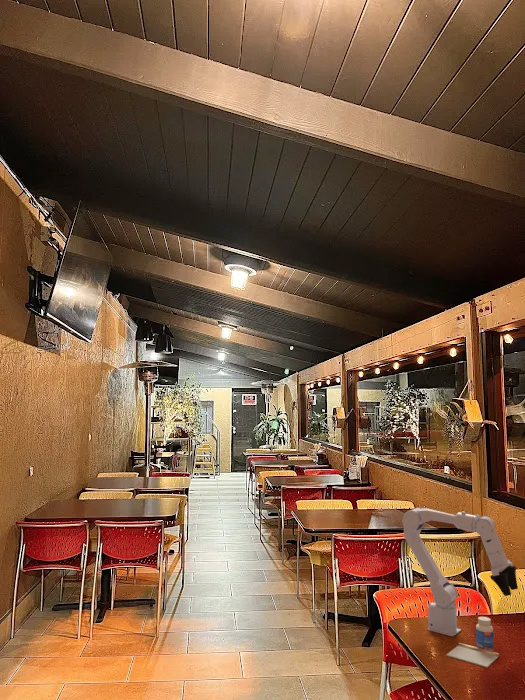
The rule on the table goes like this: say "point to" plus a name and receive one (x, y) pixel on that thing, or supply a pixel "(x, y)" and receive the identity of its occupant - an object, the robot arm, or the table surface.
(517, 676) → the table surface
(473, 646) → the stop strip
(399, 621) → the table surface
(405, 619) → the table surface
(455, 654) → the mat
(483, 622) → the pill bottle
